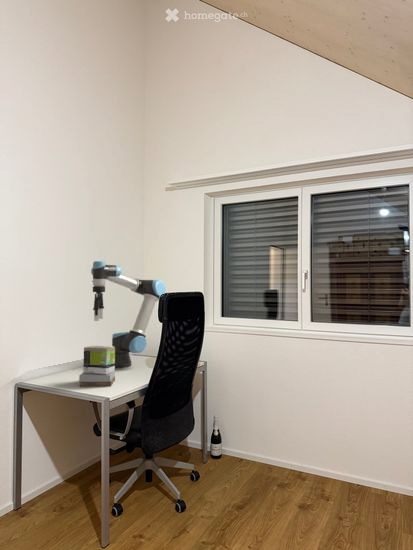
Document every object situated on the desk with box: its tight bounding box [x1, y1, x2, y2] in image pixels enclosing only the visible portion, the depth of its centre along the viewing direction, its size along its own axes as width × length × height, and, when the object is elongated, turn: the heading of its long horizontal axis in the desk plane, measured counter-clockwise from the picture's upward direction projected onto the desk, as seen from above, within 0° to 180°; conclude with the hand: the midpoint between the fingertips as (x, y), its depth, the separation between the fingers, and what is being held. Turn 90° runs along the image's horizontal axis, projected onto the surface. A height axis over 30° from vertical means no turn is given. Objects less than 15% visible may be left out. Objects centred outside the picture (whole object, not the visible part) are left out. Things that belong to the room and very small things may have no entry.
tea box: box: [82, 345, 116, 374], centre depth 228 cm, size 15×10×15 cm
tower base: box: [79, 375, 116, 388], centre depth 228 cm, size 14×17×4 cm
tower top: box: [78, 370, 116, 383], centre depth 228 cm, size 14×17×4 cm
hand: (98, 319), depth 248 cm, fingers open, 13 cm apart
